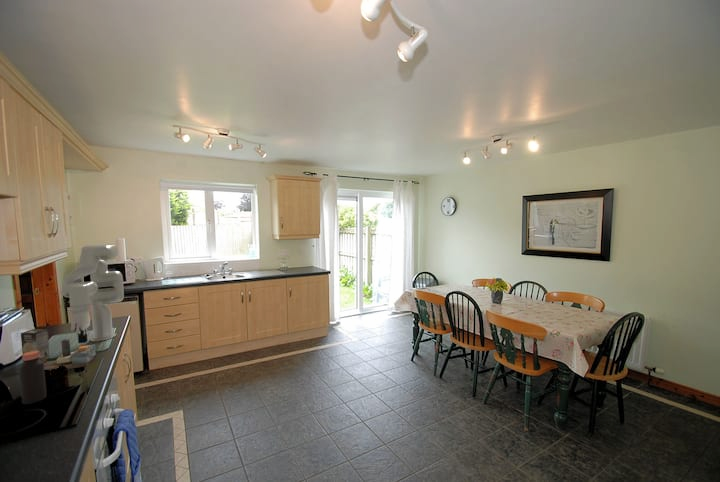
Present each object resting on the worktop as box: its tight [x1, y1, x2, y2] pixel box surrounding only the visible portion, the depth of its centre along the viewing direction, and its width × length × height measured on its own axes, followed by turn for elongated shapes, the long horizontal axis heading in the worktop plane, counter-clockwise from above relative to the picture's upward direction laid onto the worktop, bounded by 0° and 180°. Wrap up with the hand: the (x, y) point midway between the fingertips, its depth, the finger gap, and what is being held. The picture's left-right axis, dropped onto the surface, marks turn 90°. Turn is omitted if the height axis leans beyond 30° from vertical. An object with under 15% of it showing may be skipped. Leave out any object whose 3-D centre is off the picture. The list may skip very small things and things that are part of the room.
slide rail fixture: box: [39, 343, 97, 370], centre depth 157 cm, size 12×22×7 cm, turn 114°
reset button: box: [77, 344, 90, 351], centre depth 160 cm, size 3×3×3 cm
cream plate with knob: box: [56, 338, 75, 364], centre depth 158 cm, size 8×5×10 cm, turn 24°
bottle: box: [19, 351, 47, 405], centre depth 126 cm, size 7×7×20 cm
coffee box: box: [20, 328, 51, 360], centre depth 165 cm, size 9×6×16 cm
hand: (83, 342), depth 160 cm, fingers closed
